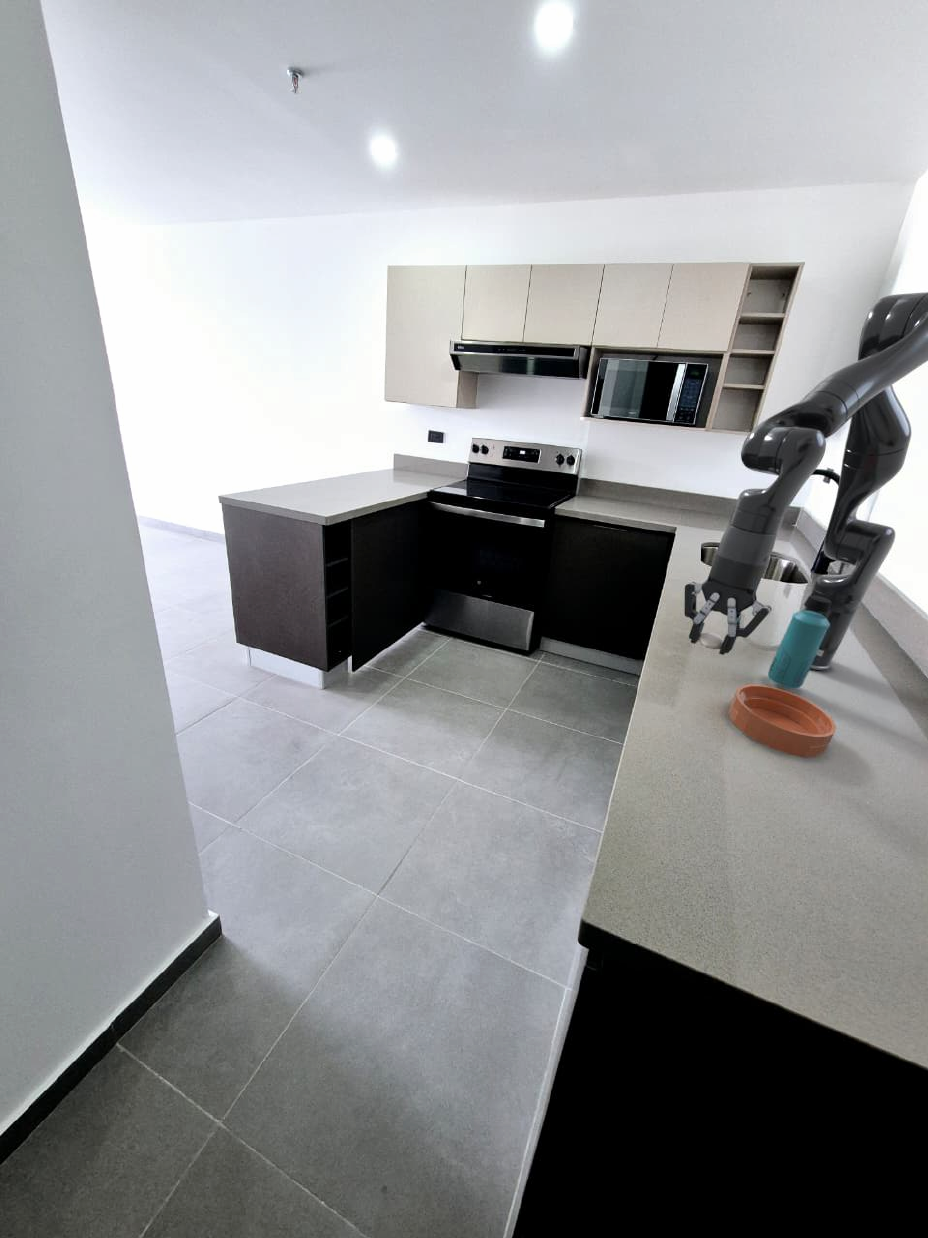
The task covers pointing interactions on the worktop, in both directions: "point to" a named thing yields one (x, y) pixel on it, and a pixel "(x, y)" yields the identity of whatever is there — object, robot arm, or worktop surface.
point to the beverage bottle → (800, 644)
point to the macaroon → (711, 640)
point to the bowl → (781, 720)
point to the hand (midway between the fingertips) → (708, 647)
